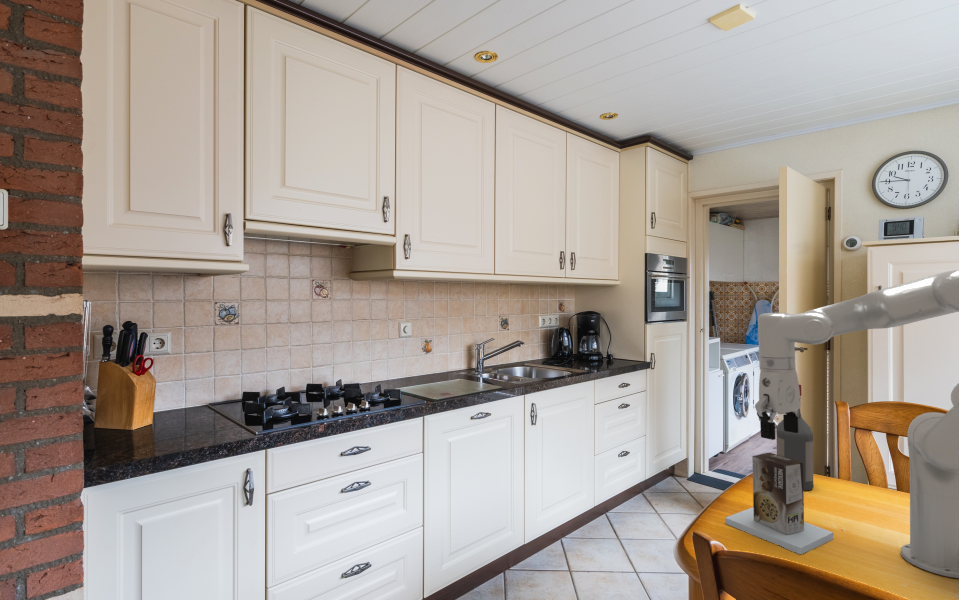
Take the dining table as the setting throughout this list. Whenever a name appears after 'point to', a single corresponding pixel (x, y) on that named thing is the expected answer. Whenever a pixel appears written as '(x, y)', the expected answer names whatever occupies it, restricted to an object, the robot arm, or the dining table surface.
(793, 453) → the liquor
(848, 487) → the dining table surface
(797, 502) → the coffee box
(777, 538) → the chopping board
